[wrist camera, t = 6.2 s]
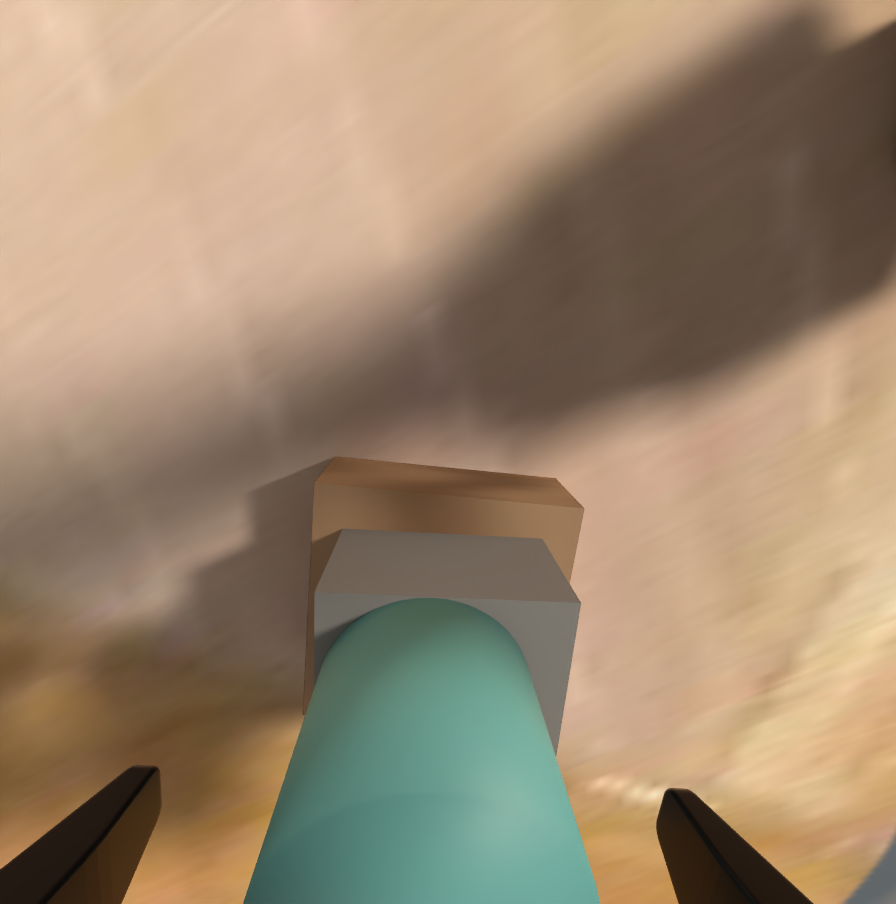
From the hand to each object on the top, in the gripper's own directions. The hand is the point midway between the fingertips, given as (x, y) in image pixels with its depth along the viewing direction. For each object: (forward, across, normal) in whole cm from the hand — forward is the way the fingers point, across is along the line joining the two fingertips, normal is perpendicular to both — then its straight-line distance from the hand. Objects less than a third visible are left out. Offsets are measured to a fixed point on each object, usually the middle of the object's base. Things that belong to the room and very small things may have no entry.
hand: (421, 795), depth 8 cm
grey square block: (+6, 0, +1) cm, 6 cm away
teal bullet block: (+3, 0, 0) cm, 3 cm away
